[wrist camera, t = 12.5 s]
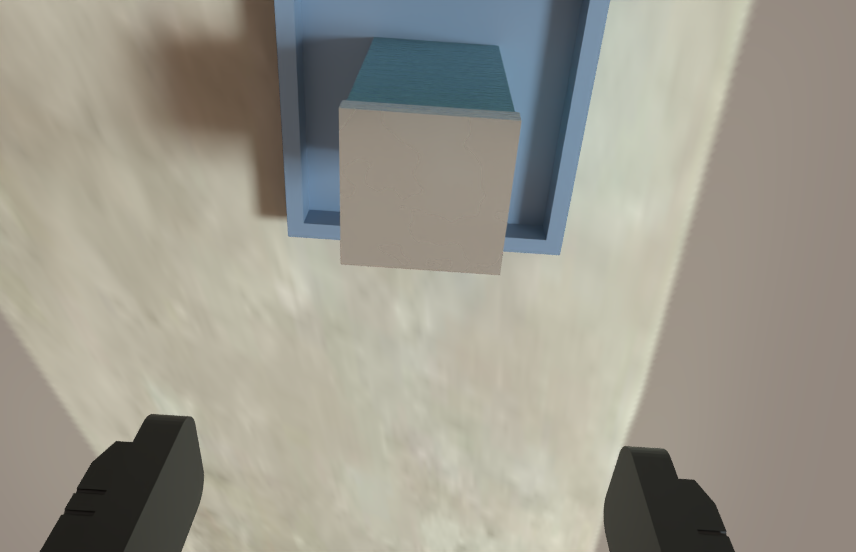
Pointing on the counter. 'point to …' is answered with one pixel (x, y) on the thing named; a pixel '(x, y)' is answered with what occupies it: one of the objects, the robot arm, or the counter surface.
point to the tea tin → (427, 157)
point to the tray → (445, 22)
